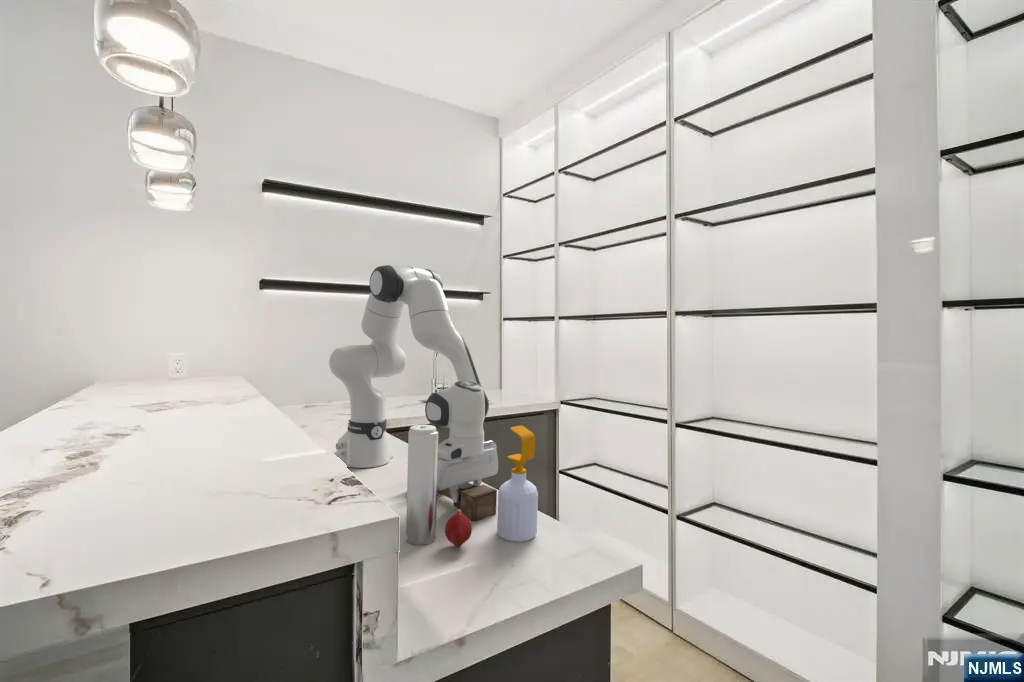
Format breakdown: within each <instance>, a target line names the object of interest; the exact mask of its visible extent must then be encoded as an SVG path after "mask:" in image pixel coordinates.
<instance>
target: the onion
mask: <svg viewBox="0 0 1024 682" xmlns="http://www.w3.org/2000/svg"><path fill="white" fill-rule="evenodd" d="M472 526H473V525H472V521H470V520H469V519H468V517H467V516H466V515H464V514H462V512H461V510H460V509H457V511H456V512H455V513H454V514H452V515H451V516H450V517H449V518H447V521H446V522H445V525H444V535H445V537H446V539H447V540H448V542H450V543H451V544H453V545H454V547H456V548H459V547H461V546H462V545H463V544H465V543H467V541H468V540H469V539H470V538H471V535H472V531H473V527H472Z"/></svg>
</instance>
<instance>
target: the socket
mask: <svg viewBox="0 0 1024 682" xmlns="http://www.w3.org/2000/svg"><path fill="white" fill-rule="evenodd" d="M497 493H498V491H497V489H495V488H493V487H491V486H488V485H486V484H480V486H477V487H474V488H470V489H467V490H464V491H461V512H462V514H464V515H466V516H467V517H468V519H469V520H470V522H471V523H475V522H479V521H481V520H484V519H488V518H490V517H493V516H495V515H497V499H498V496H497Z"/></svg>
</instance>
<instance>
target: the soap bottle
mask: <svg viewBox="0 0 1024 682" xmlns="http://www.w3.org/2000/svg"><path fill="white" fill-rule="evenodd" d="M509 430H510V431H511V432H512V433H514V434H515V435H517V437H519V439H520V442H521V449H520V450H521V451H520V453H516V454H511V455H508V456H507V459H508V460H511V461H513V464H515V467H514V468H511V478H510V479H507V481H505V482H504V483H502V484H501V485H500V487H499V489H498V491H497V493H498V496H497V525H496V526H497V528H496V531H497V532H496V533H497V535H498V536H499V537H500V538H502V539H504V540H506V541H509V542H514V543H515V542H518V543H521V542H527V541H530V540H532V539H534V538H535V537H536V535H537V532H538V531H537V530H538V510H539V509H538V507H539V506H538V505H539V491H538V489H537V487H536V485H534V483H532V482H531V481H529V480H527V469H526V468H524V465H525V464H526V461H530V460H533V459H534V458H535V453H536V436H535V434H534V433H533V431H531V430H530V429H528V428H527V427H525V426H524V425H516V426H511V427H510V428H509Z"/></svg>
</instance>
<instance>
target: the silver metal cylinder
mask: <svg viewBox="0 0 1024 682" xmlns="http://www.w3.org/2000/svg"><path fill="white" fill-rule="evenodd" d="M439 433H440V432H439V431H438V429H437V427H435V426H433V425H432V424H415V425H412V426H410V427H409V430H408V436H407V437H408V439H407V440H408V441H407V442H408V444H407V447H408V448H407V479H406V481H407V487H406V520H405V521H406V526H405V541H406V542H407V543H408V544H410V545H411V546H427V545H431V544H432V543H433V542H435V540H436V538H437V507H438V506H437V505H438V503H437V502H438V500H437V499H438V498H437V472H438V444H439Z"/></svg>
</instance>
